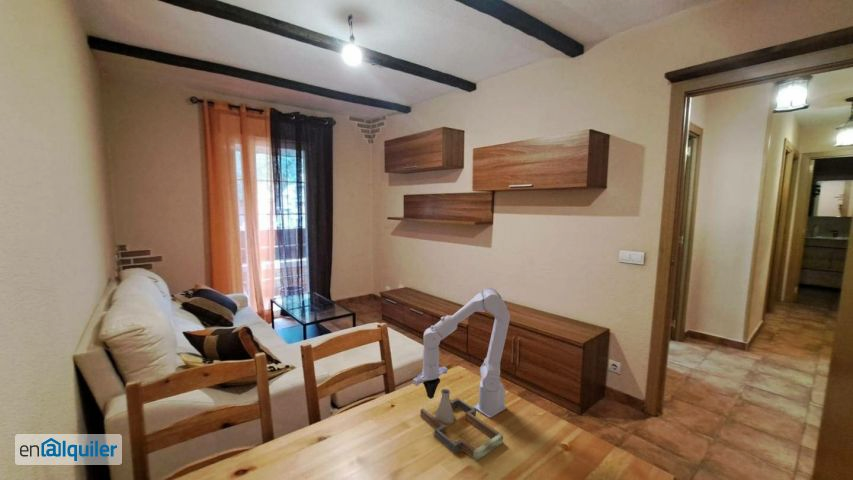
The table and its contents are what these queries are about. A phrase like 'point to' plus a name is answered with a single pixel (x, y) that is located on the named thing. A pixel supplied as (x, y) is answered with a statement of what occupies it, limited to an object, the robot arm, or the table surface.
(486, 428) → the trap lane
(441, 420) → the flask
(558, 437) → the table surface
